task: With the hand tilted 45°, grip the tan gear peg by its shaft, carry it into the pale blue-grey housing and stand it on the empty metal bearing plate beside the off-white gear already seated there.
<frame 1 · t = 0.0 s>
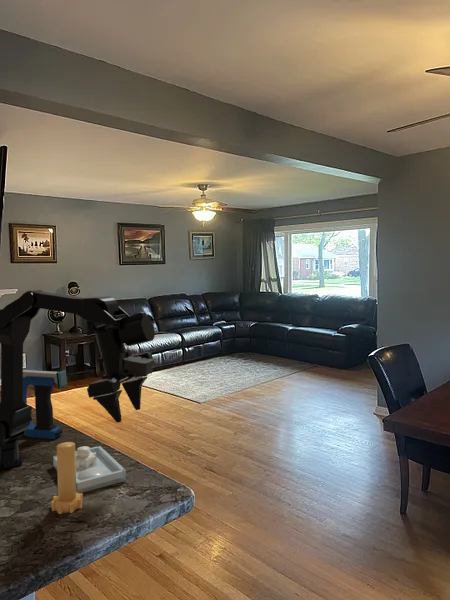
hand: (129, 415, 106), 15 cm above the countertop, tool pointing down, fingers open, 9 cm apart
tan gear peg: (67, 506, 96), on the countertop
housing: (88, 473, 112), on the countertop
handheld scanner: (41, 436, 137), on the countertop
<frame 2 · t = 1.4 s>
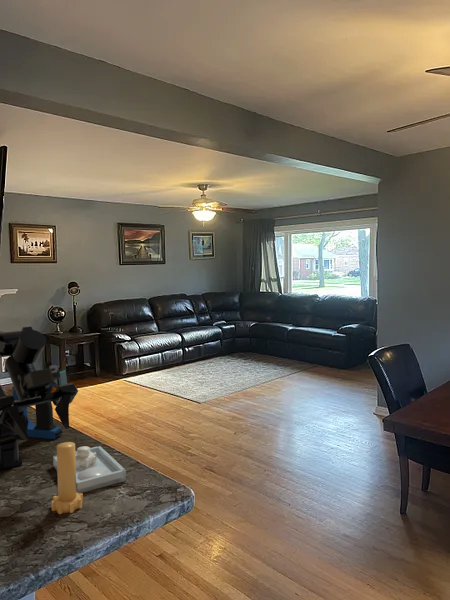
hand: (48, 433, 101), 13 cm above the countertop, tool tilted 45°, fingers open, 9 cm apart
nothing on the countertop moved.
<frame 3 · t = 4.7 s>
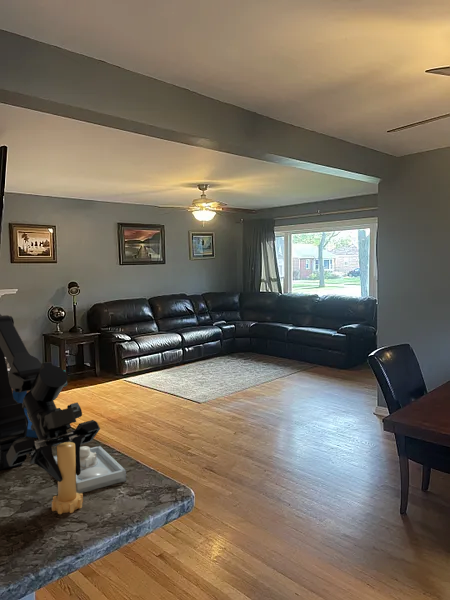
hand: (70, 477, 95), 7 cm above the countertop, tool tilted 45°, fingers closed on tan gear peg, 4 cm apart
tan gear peg: (67, 506, 96), on the countertop, touching gripper
everything else where it was.
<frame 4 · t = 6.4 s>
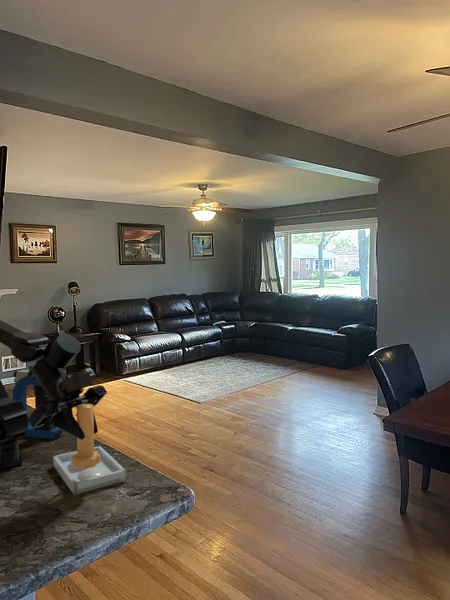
hand: (90, 435, 102), 12 cm above the countertop, tool tilted 45°, fingers closed on tan gear peg, 4 cm apart
tan gear peg: (85, 463, 104), point 6 cm above the countertop, touching gripper
everything else where it was.
when the fingers open (9 cm above the countertop, at t = 8.2 s): tan gear peg drops 1 cm, resting on housing.
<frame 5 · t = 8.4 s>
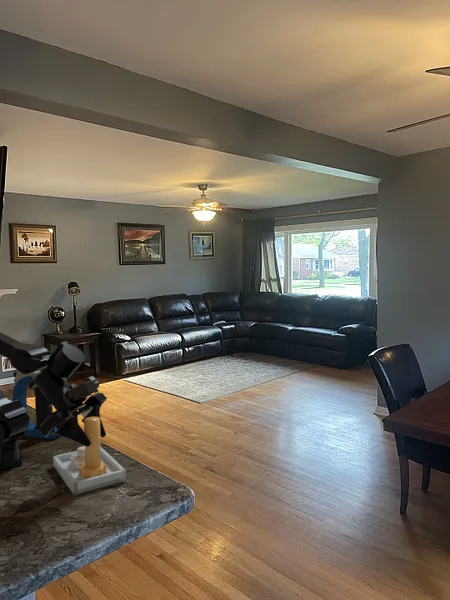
hand: (97, 440, 107), 9 cm above the countertop, tool tilted 45°, fingers open, 6 cm apart
tan gear peg: (92, 473, 108), point 1 cm above the countertop, touching housing
everything else where it was.
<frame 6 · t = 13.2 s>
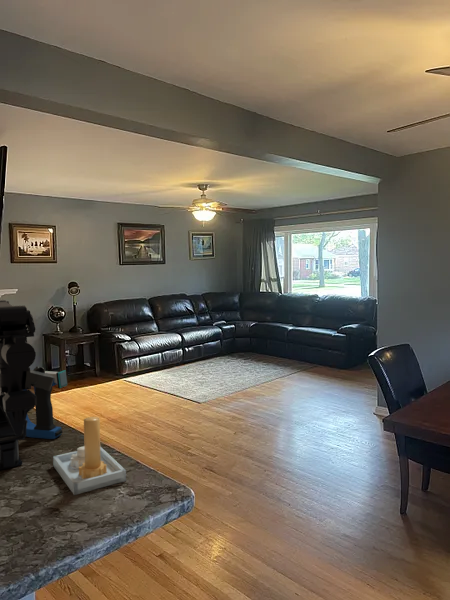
hand: (15, 429, 104), 13 cm above the countertop, tool pointing down, fingers open, 9 cm apart
nothing on the countertop moved.
at the end: tan gear peg 0.0 cm from the target spot on the housing, point 1.3 cm above the housing's base; tan gear peg tilted 0°; the gripper is holding nothing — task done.
